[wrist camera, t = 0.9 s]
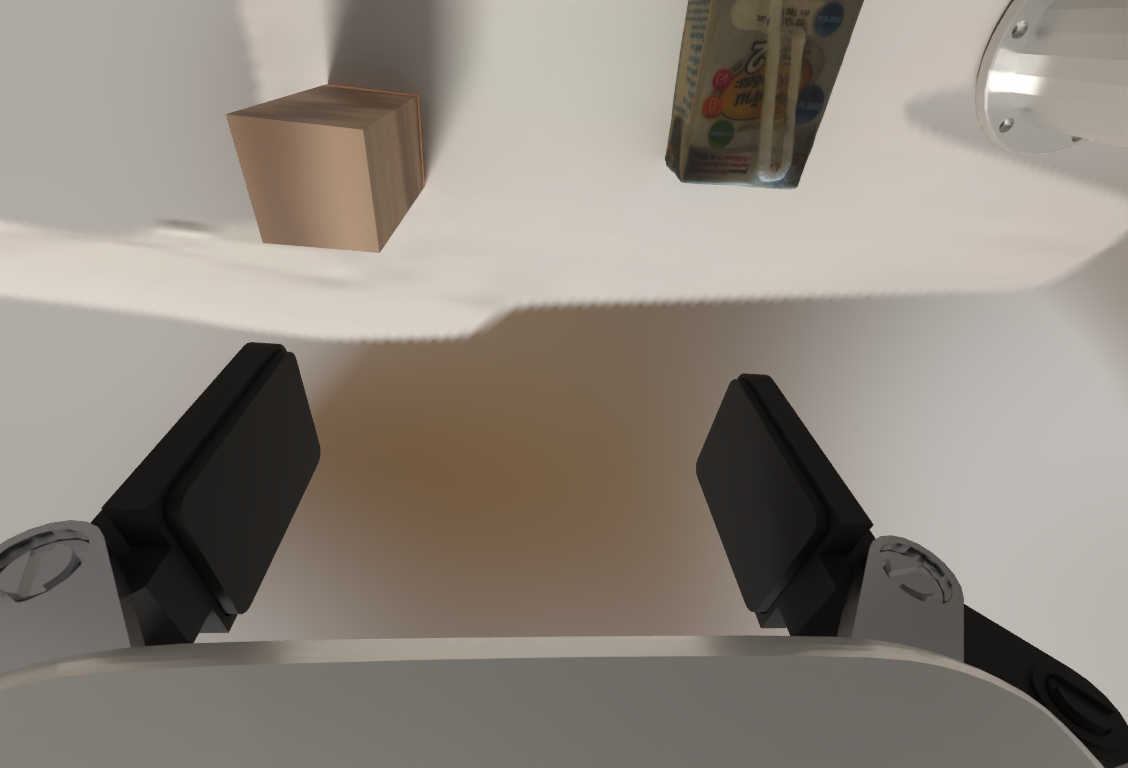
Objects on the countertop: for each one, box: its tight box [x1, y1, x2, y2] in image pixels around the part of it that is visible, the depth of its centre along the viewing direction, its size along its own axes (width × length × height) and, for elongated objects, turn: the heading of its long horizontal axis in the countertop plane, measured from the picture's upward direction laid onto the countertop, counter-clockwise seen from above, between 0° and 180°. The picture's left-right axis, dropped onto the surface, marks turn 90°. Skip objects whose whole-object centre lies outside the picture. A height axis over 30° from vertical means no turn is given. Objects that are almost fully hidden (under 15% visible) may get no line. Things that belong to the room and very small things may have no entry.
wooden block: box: [226, 84, 425, 253], centre depth 26 cm, size 6×6×12 cm
